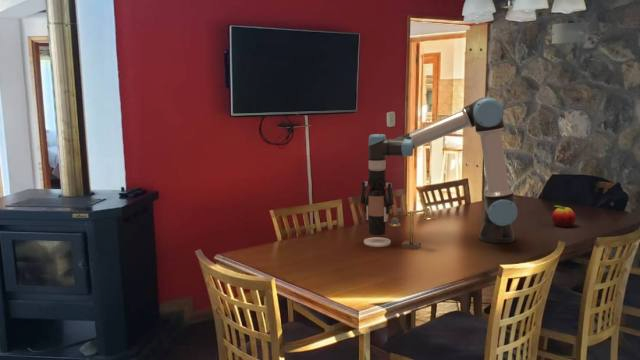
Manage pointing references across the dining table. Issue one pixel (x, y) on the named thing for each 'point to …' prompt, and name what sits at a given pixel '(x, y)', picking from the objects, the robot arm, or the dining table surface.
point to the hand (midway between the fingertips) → (377, 220)
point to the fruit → (563, 216)
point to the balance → (411, 243)
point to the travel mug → (376, 212)
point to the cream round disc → (377, 242)
